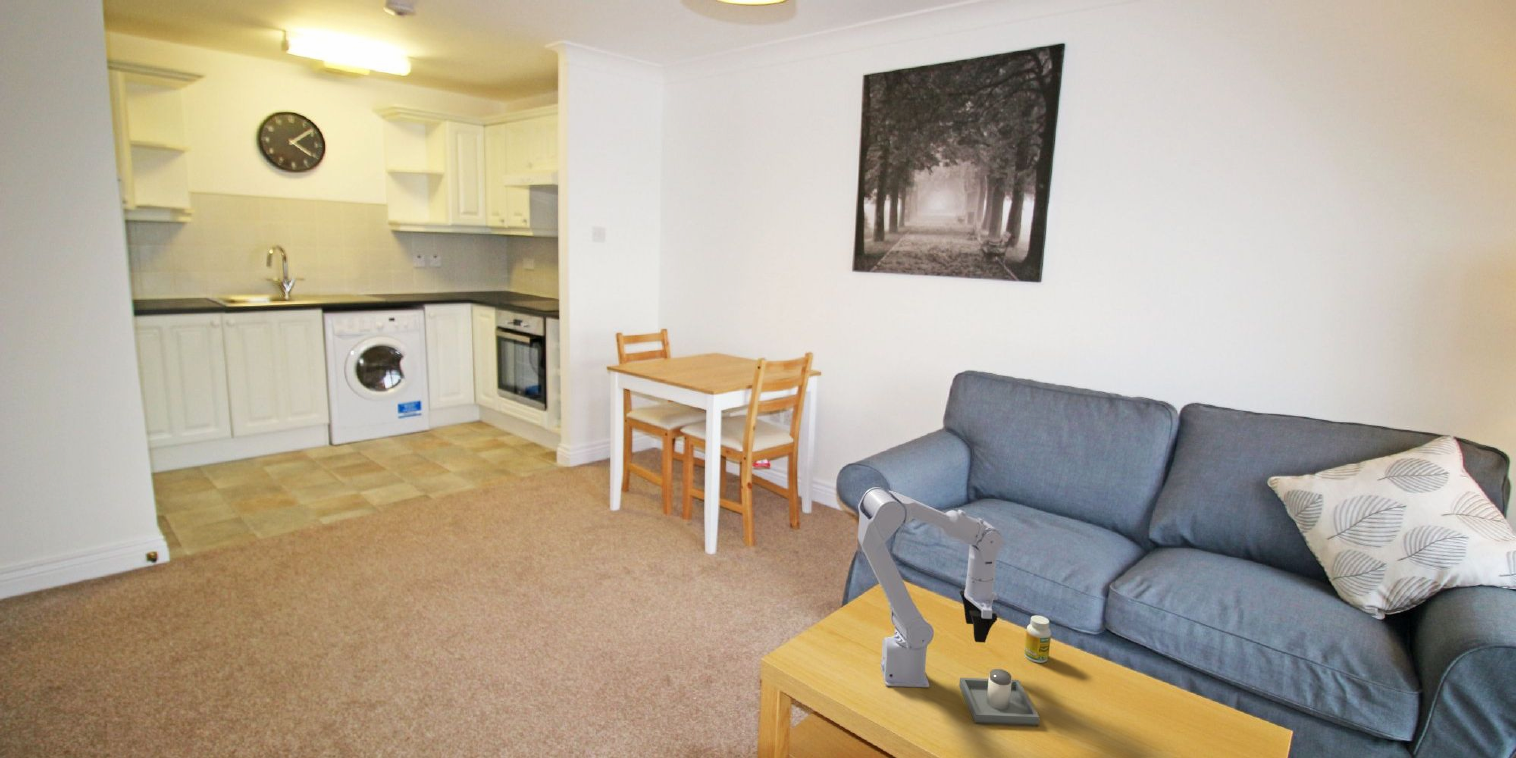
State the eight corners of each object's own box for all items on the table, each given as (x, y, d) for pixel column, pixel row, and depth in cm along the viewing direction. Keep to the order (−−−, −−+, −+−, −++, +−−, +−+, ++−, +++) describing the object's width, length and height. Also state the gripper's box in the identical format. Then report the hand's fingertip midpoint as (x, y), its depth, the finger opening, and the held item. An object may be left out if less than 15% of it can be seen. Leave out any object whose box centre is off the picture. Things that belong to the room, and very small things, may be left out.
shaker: (990, 709, 149) (993, 680, 148) (983, 695, 153) (986, 668, 152) (1012, 710, 149) (1015, 681, 148) (1005, 696, 153) (1007, 668, 152)
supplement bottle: (1033, 648, 173) (1037, 611, 172) (1053, 659, 169) (1057, 621, 167) (1019, 654, 170) (1023, 617, 169) (1038, 666, 166) (1043, 627, 164)
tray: (975, 723, 145) (976, 714, 145) (959, 685, 157) (959, 677, 157) (1038, 725, 145) (1039, 717, 145) (1017, 688, 157) (1018, 679, 157)
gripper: (1008, 591, 152) (1002, 650, 154) (989, 562, 166) (984, 616, 169) (975, 590, 152) (969, 649, 155) (958, 560, 166) (953, 615, 169)
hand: (975, 632), depth 162 cm, fingers open, 7 cm apart
